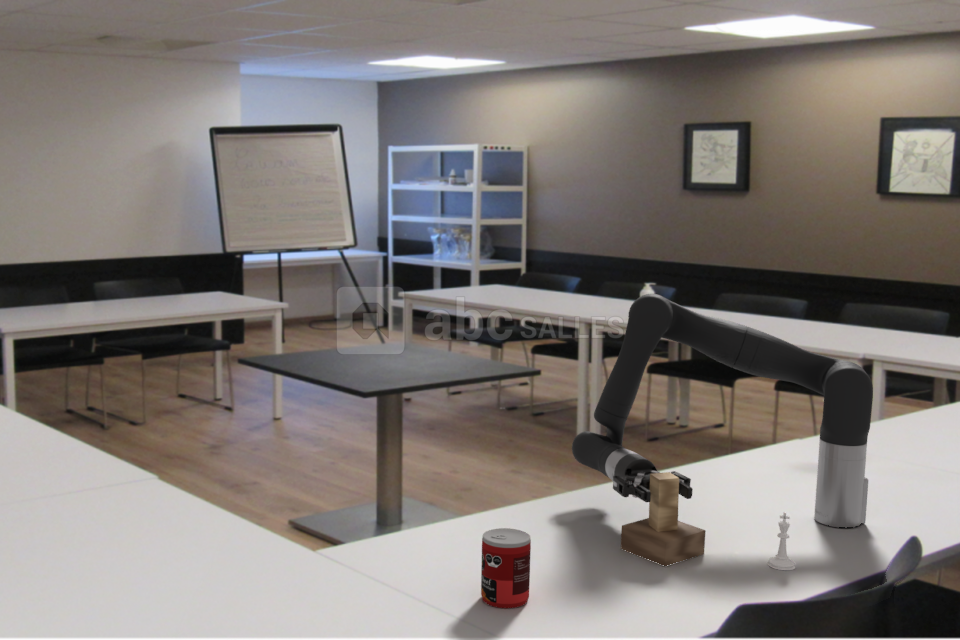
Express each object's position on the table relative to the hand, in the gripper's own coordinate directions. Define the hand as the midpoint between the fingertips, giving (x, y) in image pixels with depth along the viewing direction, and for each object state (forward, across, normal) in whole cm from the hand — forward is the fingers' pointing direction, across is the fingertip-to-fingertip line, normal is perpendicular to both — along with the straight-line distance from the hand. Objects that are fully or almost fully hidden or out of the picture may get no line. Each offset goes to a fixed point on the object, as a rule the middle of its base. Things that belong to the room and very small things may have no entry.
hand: (669, 495), depth 184 cm
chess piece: (+10, +18, +12) cm, 24 cm away
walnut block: (-2, 0, +12) cm, 12 cm away
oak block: (-2, 0, +7) cm, 7 cm away
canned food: (+11, -36, +12) cm, 39 cm away
